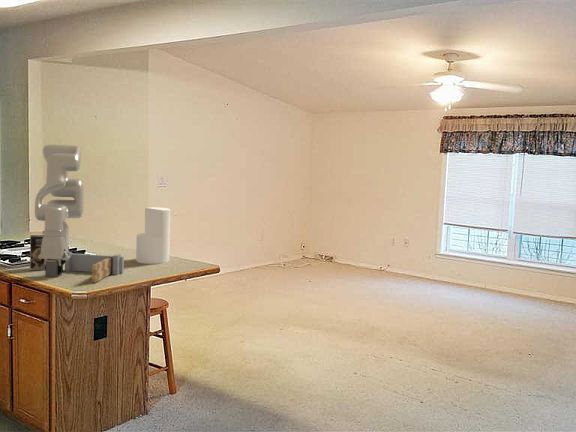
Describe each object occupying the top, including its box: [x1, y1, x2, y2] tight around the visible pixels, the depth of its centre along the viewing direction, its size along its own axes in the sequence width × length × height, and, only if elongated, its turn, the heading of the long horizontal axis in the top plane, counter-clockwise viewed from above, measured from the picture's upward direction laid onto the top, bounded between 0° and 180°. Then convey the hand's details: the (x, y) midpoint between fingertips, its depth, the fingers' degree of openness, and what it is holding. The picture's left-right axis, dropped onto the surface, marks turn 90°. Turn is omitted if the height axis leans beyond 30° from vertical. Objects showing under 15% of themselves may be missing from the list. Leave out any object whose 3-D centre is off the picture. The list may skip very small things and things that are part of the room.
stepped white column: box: [135, 206, 171, 265], centre depth 295 cm, size 17×17×28 cm
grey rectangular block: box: [45, 259, 63, 278], centre depth 251 cm, size 5×5×8 cm
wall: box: [64, 251, 125, 276], centre depth 262 cm, size 28×4×9 cm, turn 85°
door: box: [91, 255, 113, 283], centre depth 251 cm, size 20×2×8 cm, turn 177°
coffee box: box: [29, 234, 45, 271], centre depth 264 cm, size 9×6×16 cm
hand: (53, 273), depth 252 cm, fingers closed on grey rectangular block, 5 cm apart
